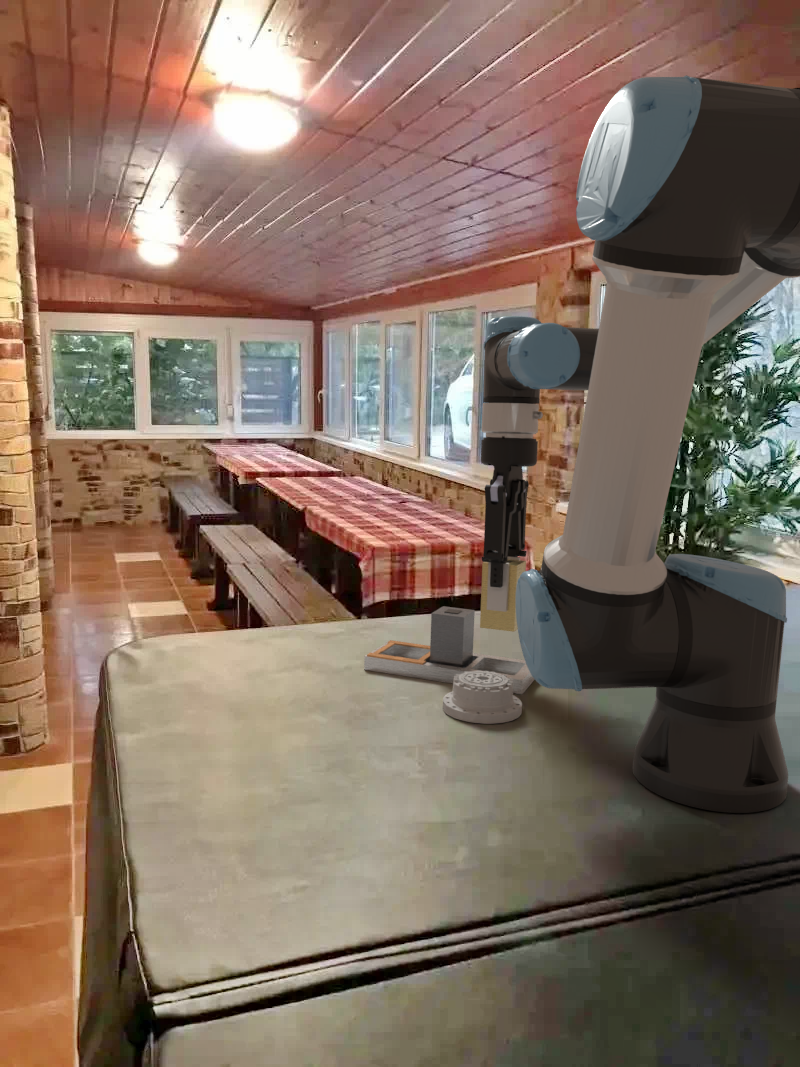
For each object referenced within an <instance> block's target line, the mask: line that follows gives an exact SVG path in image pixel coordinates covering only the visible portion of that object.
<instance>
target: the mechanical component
mask: <svg viewBox="0 0 800 1067" xmlns="http://www.w3.org/2000/svg"><path fill="white" fill-rule="evenodd" d="M501 674H502V673H501ZM501 674H498V673H496V672H489V671H480V670H478V671H471V672H468V671H465V672H464V673H463V674H461V675H459V674H456V676H454V680H453V684H452V691H450V692H448V693H446V694H445V695H444V696H443V697H442V711H443V712H444V713H445V714H447V715H448V716H450V717H452V718H454V719H457V720H460V721H463V722H468V723H473V724H474V723H475V724H485V725H486V724H491V725H492V724H502V723H503V724H504V723H508V722H512V721H514V720H516V719H519V717H520V716H521V715H522V711H523V710H522V709H523V702H522V701H521V700H522V699H520V698H519V697H517V696H515V695H514V693H513V680H512V679H508V678H507V675H501Z"/></svg>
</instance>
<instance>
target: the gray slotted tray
mask: <svg viewBox="0 0 800 1067" xmlns="http://www.w3.org/2000/svg"><path fill="white" fill-rule="evenodd" d="M363 659H364V660H363V662H364V663H363V666H364V667H363V668H364V670H365V671H371V672H376V673H382V674H383V673H384V674H390V675H395V676H396V675H397V676H403V677H408V678H416V679H422V680H428V681H433V682H440V683H447V684H452V685H453V680H454V676H456V674H459V675H461V674H463V673H464V672H465V671H468V672H471V671H478V670H480V671H488V672H495V673H498V674H501V675H507V678H508V679H512V680H513V694H517V695H523V694H524V693H525V692H526V690H528V688H529V687H530V686H531V684H533V682H534V681H536V680H535V679H534V678H533V676H532V675H531V673H530V671H529V669H528V667H527V665H526V662H525V659H518V658H511V657H504V656H498V655H491V654H484V653H483V654H482V653H476V652H473V661H472V663H471V664H469V665H468V666H467V667H466V668H461V667H454V666H448V665H441V664H434V663H430V645H426V644H421V643H414V642H405V641H399V640H390V639H389V640H388V641H387V642H385V643H384V644H382V645H381V646H378V647H377V648H376V649H373V650H371V651H370V652H369V653H367V654H365V655H364V658H363Z"/></svg>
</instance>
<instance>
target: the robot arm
mask: <svg viewBox="0 0 800 1067" xmlns="http://www.w3.org/2000/svg"><path fill="white" fill-rule="evenodd" d="M575 195H576V197H575V199H576V201H577V206H576V209H575V216H576V222H577V225H578V227H579V230H580V232H581V233H582V234H583V235H584V236H585V237H587V238H589V239H590V240H591V241H594V244H593V246H594V247H593V252H592V257H591V258H592V261H593V262H594V264H595V265H596V266H597V268H598V269H599V271H600V272H601V273H602V275H603V276H604V277H605V280H606V286H605V292H604V296H603V304H602V309H601V315H600V321H599V326H598V328H592V327H590V328H589V327H570V326H569V327H567V326H563V325H561V324H560V323H555V322H541V320H539V319H538V318H536V317H530V316H522V315H521V316H519V315H518V316H517V315H515V316H514V315H513V316H511V315H510V316H509V315H508V316H507V315H506V316H501V317H499V316H498V317H493V318H491V319H490V320H489V321H488V322H487V324H486V328H485V329H486V331H485V340H484V342H483V350H484V364H483V366H484V368H483V400H482V401H483V403H482V413H481V414H482V416H481V417H482V418H481V432H482V433H484V434H485V436H483V438H482V439H481V441H480V442H481V444H480V445H481V446H480V447H481V448H480V462H481V464H483V465H485V466H493V474H492V479H490V481H489V484H485V486H484V498H485V506H484V507H485V512H484V536H483V555H482V556H481V561H482V563H483V562H488V587H487V610H495V611H504V612H506V611H508V587H509V564H510V563H507V560H508V559H511V560H521V557H523V558H524V557H525V558H526V556H527V550H525V548H526V544H525V543H526V524H527V523H526V522H527V502H528V501H527V500H528V499H527V498H528V491H529V490H528V489H529V485H530V484H529V480H526V479H524V474H523V468H524V467H526V468H527V467H534V466H536V465H537V462H538V449H539V448H538V446H539V445H538V442H539V441H538V440H537V438H534V435H537V434H538V432H539V420H541V419H542V418H543V417H544V414H543V412H542V411H539V410H540V405H539V404H540V402H541V401H540V396H541V390H556V391H557V390H558V391H559V390H561V391H587V394H586V402H585V406H584V412H583V417H582V418H583V419H582V423H581V430H580V434H579V441H578V445H577V452H576V458H575V464H574V469H573V475H572V481H571V487H570V492H569V498H568V503H567V508H566V509H567V511H566V515H565V521H564V527H563V534H562V535H560V536H558V537H556V538H554V539H553V540H551V541H550V542H548V543H547V545H546V546H545V548H544V550H543V551H544V552H543V554H542V555H543V556H542V562H541V566H540V569H539V570H538V569H534V568H530V569H528V570H526V571H525V572H523V573H522V574H521V575H520V578H519V579H518V582H517V586H516V619H517V627H518V629H517V634H518V638H519V643H520V644H519V645H520V648H521V652H522V655H523V658H524V659H523V660H525V662H526V665H527V667H528V669H529V671H530V673H531V675H532V676H533V678H534V679H535V680H534V681H536V683H537V684H539V685H540V686H542V687H544V688H547V689H551V690H552V689H553V690H554V689H555V690H556V689H557V690H558V689H559V690H574V691H575V692H581V691H582V690H599V689H600V690H602V689H603V690H604V689H639V688H656V689H655V698H654V699H655V700H654V702H653V705H652V708H651V710H650V712H649V714H648V717H647V719H646V722H645V723H644V726H643V728H642V730H641V732H640V735H639V738H638V739H637V742H636V744H635V747H634V750H633V762H632V772H633V775H634V777H635V779H636V780H637V781H638V782H639V783H640V784H641V785H642V786H644V787H645V788H646V789H648V790H649V791H651V792H652V793H655V794H657V795H658V796H661V797H663V798H665V799H667V800H669V801H672V802H675V803H678V804H680V805H685V806H688V807H692V808H694V809H695V808H696V809H701V810H706V811H712V812H720V813H733V814H746V813H747V814H748V813H758V812H763V811H768V810H771V809H774V808H776V807H778V806H780V805H781V804H783V802H784V801H785V800H786V798H787V796H788V795H787V794H788V785H789V770H788V765H787V762H786V758H785V755H784V749H783V746H782V742H781V738H780V734H779V729H778V726H777V722H776V709H777V701H778V693H779V692H778V691H779V682H780V681H779V680H780V672H781V671H780V670H781V660H782V651H783V639H784V632H785V631H784V630H785V624H786V623H787V621H788V618H787V589H786V586H785V583H784V582H783V580H782V578H780V577H779V576H778V575H776V574H775V573H773V572H770V571H768V570H766V569H761V568H759V567H757V566H756V567H755V566H751V565H747V564H743V563H740V562H736V561H729V560H725V559H721V558H715V557H710V556H709V557H708V556H703V555H698V554H697V555H696V554H695V555H694V554H687V553H671V554H669V555H667V557H666V559H665V561H664V562H663V560H662V559H661V557H659V555H658V554H657V552H656V548H657V545H658V541H659V536H660V531H661V526H662V522H663V517H664V514H665V511H666V510H665V509H666V505H667V500H668V496H669V492H670V487H671V483H672V479H673V475H674V470H675V465H676V461H677V458H678V452H679V448H680V446H681V444H680V443H681V439H682V434H683V429H684V427H685V421H686V417H687V414H688V409H689V405H690V400H691V396H692V391H693V388H694V384H695V379H696V374H697V371H698V370H697V369H698V365H699V361H700V356H701V352H702V348H703V345H705V344H706V343H707V342H708V341H710V340H711V339H712V338H713V337H715V336H716V335H717V334H719V333H720V332H721V331H722V330H723V329H725V328H726V327H727V326H728V325H730V324H731V323H732V322H733V321H734V320H736V319H738V317H739V316H740V315H742V314H743V313H745V312H746V311H747V310H748V309H750V308H751V307H752V306H753V305H754V304H756V303H758V301H759V300H761V299H762V298H763V297H764V296H766V295H767V294H769V293H770V291H772V290H773V289H774V288H776V287H777V286H779V284H781V283H782V282H784V280H785V279H787V278H788V279H794V278H799V277H800V87H793V88H789V87H783V86H770V85H761V84H754V83H753V84H752V83H745V82H744V83H743V82H737V81H736V82H735V81H729V80H728V81H727V80H719V79H711V78H702V77H693V76H690V75H683V76H645V77H640V78H636V79H634V80H632V81H630V82H628V83H627V84H625V85H624V86H622V87H621V88H620V89H619V90H618V91H617V92H616V93H615V95H613V97H612V98H611V99H610V101H609V102H608V104H607V105H606V106H605V108H604V110H603V111H602V113H601V114H600V116H599V118H598V120H597V122H596V124H595V126H594V128H593V131H592V133H591V136H590V138H589V140H588V143H587V146H586V149H585V153H584V155H583V159H582V163H581V166H580V171H579V176H578V181H577V187H576V193H575ZM538 419H539V420H538Z"/></svg>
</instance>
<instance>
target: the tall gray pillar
mask: <svg viewBox="0 0 800 1067" xmlns="http://www.w3.org/2000/svg"><path fill="white" fill-rule="evenodd" d="M475 612H476V611H475V609H467V608H460V607H450V606H445V605H444V606H441V607H439V608H438V609H436V610H434V611H433V612H431V619H430V645H429V646H430V663H434V664H441V665H448V666H454V667H461V668H466V667H467V666H468V665H469V664H471V663H472V661H473V653H474V638H475V637H474V633H475Z"/></svg>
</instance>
